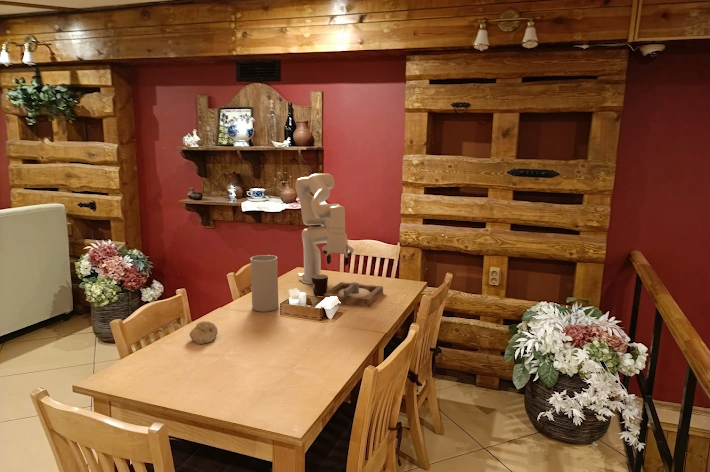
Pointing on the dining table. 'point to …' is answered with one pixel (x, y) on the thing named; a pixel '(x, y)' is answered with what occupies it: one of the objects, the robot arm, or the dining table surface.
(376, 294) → the dial housing
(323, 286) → the coffee mug
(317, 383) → the dining table surface
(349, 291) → the dial
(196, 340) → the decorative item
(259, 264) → the cylinder vase
